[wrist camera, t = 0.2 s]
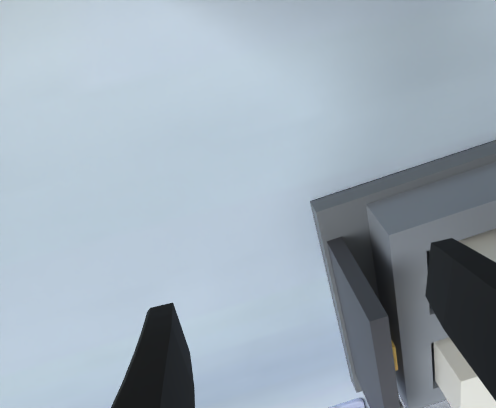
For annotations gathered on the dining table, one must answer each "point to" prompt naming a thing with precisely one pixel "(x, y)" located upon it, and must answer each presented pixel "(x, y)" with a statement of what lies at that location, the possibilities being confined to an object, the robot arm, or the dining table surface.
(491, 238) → the button
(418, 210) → the button board
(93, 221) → the dining table surface
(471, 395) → the button
